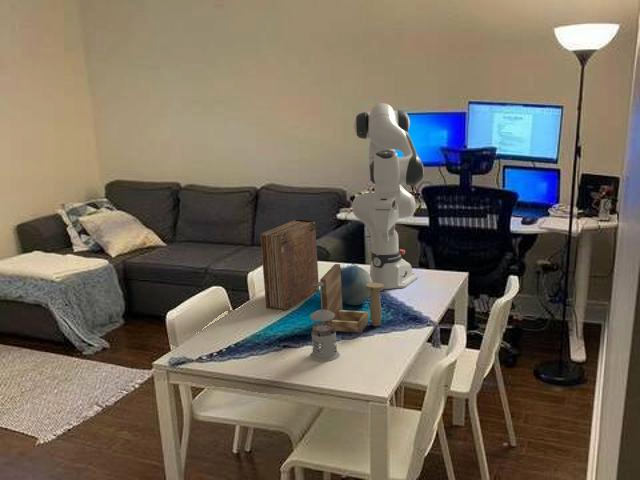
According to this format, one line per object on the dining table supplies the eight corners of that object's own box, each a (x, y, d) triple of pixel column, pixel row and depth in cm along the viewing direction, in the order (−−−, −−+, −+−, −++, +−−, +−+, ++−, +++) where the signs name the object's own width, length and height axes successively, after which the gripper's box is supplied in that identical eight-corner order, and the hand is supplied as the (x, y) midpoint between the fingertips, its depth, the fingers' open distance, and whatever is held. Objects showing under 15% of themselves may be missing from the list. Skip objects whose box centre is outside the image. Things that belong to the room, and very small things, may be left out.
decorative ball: (344, 295, 265) (342, 260, 261) (379, 299, 259) (378, 263, 255) (328, 308, 252) (326, 271, 249) (365, 312, 246) (363, 274, 242)
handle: (381, 328, 230) (380, 288, 226) (365, 326, 233) (363, 286, 230) (387, 323, 234) (385, 284, 230) (371, 321, 237) (369, 281, 234)
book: (285, 311, 252) (279, 236, 244) (265, 308, 257) (259, 234, 249) (319, 290, 273) (315, 220, 265) (300, 288, 278) (295, 219, 270)
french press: (317, 364, 206) (312, 289, 199) (303, 351, 216) (297, 278, 210) (345, 357, 210) (341, 283, 203) (330, 344, 220) (325, 273, 213)
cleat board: (370, 317, 241) (368, 265, 236) (358, 336, 225) (356, 281, 220) (337, 315, 245) (334, 264, 240) (323, 334, 229) (320, 279, 224)
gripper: (385, 193, 233) (386, 231, 237) (371, 205, 214) (373, 246, 218) (402, 193, 231) (403, 231, 235) (390, 205, 212) (391, 246, 216)
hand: (388, 238), depth 226 cm, fingers open, 8 cm apart
